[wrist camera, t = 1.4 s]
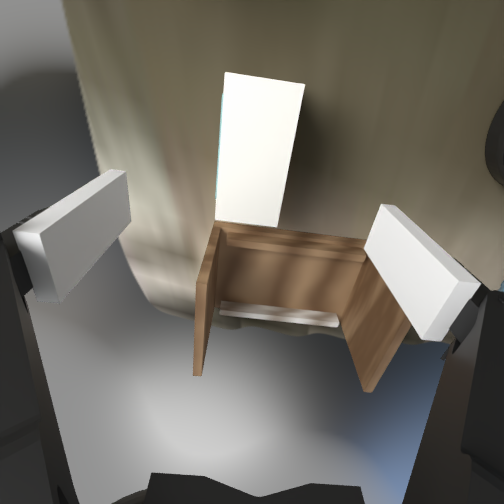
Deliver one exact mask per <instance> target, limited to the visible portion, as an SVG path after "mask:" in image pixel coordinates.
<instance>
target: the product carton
mask: <svg viewBox="0 0 504 504" xmlns="http://www.w3.org/2000/svg"><path fill="white" fill-rule="evenodd" d="M304 87H305V84H299V83H293V82H286V81H280V80H273V79H267V78H260V77H254V76H247V75H241V74H234V73H228V72H225V80H224V93H223V94H222V105H221V121H220V136H219V151H218V166H217V181H216V196H215V199H216V212H215V220H222V221H230V222H238V223H246V224H254V225H262V226H270V227H277V225H278V219H279V214H280V209H281V204H282V199H283V194H284V189H285V184H286V179H287V174H288V168H289V163H290V158H291V153H292V148H293V143H294V138H295V133H296V128H297V123H298V118H299V112H300V107H301V102H302V97H303V92H304Z"/></svg>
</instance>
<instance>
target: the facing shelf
mask: <svg viewBox="0 0 504 504" xmlns="http://www.w3.org/2000/svg"><path fill="white" fill-rule="evenodd" d="M366 241H367V240H362V239H354V238H345V237H337V236H329V235H321V234H313V233H305V232H297V231H289V230H281V229H273V228H265V227H257V226H249V225H241V224H233V223H225V222H217V221H215V222H214V225H213V228H212V232H211V235H210V238H209V242H208V245H207V248H206V252H205V255H204V259H203V262H202V265H201V269H200V272H199V275H198V279H197V282H196V303H195V333H194V363H193V376H202V370H203V365H204V359H205V354H206V349H207V344H208V338H209V333H210V327H211V322H212V317H213V312H214V307H216V308H220V315H226V316H236V317H245V318H254V319H264V320H273V321H283V322H292V323H301V324H311V325H320V326H329V327H338V325H339V321H340V323H341V326H342V329H343V332H344V335H345V338H346V340H347V344H348V347H349V350H350V352H351V355H352V358H353V361H354V364H355V367H356V370H357V373H358V376H359V379H360V382H361V385H362V388H363V390H364V392H372V391H373V389H374V388H375V386H376V384H377V383H378V381H379V379H380V377H381V376H382V374H383V372H384V370H385V369H386V367H387V366H388V364H389V362H390V361H391V359H392V357H393V355H394V354H395V352H396V350H397V349H398V347H399V346H400V344H401V342H402V340H403V339H404V337H405V335H406V334H407V332H408V330H409V329H410V327H411V325H412V324H411V322H410V320H409V319H408V317H407V316H406V314H405V313H404V311H403V310H402V308H401V306H400V305H399V303H398V302H397V300H396V299H395V297H394V295H393V294H392V292H391V291H390V289H389V288H388V286H387V284H386V283H385V281H384V280H383V278H382V277H381V275H380V273H379V272H378V270H377V269H376V267H375V266H374V264H373V262H372V261H371V259H370V258H369V256H368V255H367V253H366V251H365V250H364V247H365V244H366Z"/></svg>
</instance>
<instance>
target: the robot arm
mask: <svg viewBox="0 0 504 504" xmlns="http://www.w3.org/2000/svg"><path fill="white" fill-rule="evenodd" d="M485 157H486V163H487V166H488V169H489V171H490V173H491V175H492V176H493V177H494V178H495V179H496V180H497V181H498V182H499V183H500V184H502V185H504V101H503V103H502V104H501V106H500V107H499V109H498V111H497V113H496V115H495V117H494V119H493V121H492V123H491V126H490V128H489V131H488V135H487V139H486V146H485ZM130 222H131V214H130V204H129V195H128V185H127V176H126V171H120V170H112V169H110V170H108V171H107V172H105V173H104V174H102V175H100V176H99V177H98V178H96V179H94V180H93V181H91V182H90V183H88V184H86V185H84V186H83V187H81V188H80V189H78V190H77V191H75V192H73V193H72V194H70V195H69V196H67V197H65V198H64V199H62V200H61V201H59V202H57V203H56V204H54V205H53V206H51V207H47V208H44V209H42V210H38V211H36V212H34V213H33V214H31V215H29V216H28V217H27V218H24V219H23V220H21V221H20V222H19V223H16V224H15V225H13V226H11V227H10V228H8V229H6V230H5V231H3V232H1V233H0V504H79V501H78V498H77V495H76V492H75V489H74V486H73V482H72V479H71V474H70V470H69V466H68V462H67V458H66V454H65V451H64V447H63V443H62V439H61V435H60V431H59V427H58V423H57V419H56V415H55V412H54V408H53V403H52V399H51V395H50V391H49V388H48V383H47V380H46V376H45V372H44V368H43V364H42V360H41V356H40V352H39V348H38V344H37V340H36V336H35V333H34V329H33V324H32V320H31V316H30V313H29V309H28V305H27V302H26V299H25V297H24V295H25V294H26V293H27V292H29V291H30V289H32V288H33V290H34V293H35V296H36V299H37V301H40V302H50V303H61V302H62V301H63V300H64V298H65V297H66V296H67V295H68V293H70V291H71V290H72V289H73V288H74V287H75V286H76V284H77V283H78V282H79V281H80V280H81V279H82V278H83V276H84V275H85V274H86V273H87V272H88V271H89V270H90V268H91V267H92V266H93V265H94V264H95V263H96V261H97V260H98V259H99V258H100V257H101V256H102V254H103V253H104V252H105V251H106V250H107V249H108V248H109V246H110V245H111V244H112V243H113V242H114V241H115V240H116V238H117V237H118V236H119V235H120V234H121V233H122V231H123V230H124V229H125V228H126V227H127V226H128V225H129V223H130ZM364 250H365V251H366V253H367V255H368V256H369V258H370V259H371V261H372V262H373V264H374V266H375V267H376V269H377V270H378V272H379V273H380V275H381V277H382V278H383V280H384V281H385V283H386V284H387V286H388V288H389V289H390V291H391V292H392V294H393V295H394V297H395V299H396V300H397V302H398V303H399V305H400V306H401V308H402V310H403V311H404V313H405V314H406V316H407V317H408V319H409V320H410V322H411V324H412V325H413V327H414V328H415V330H416V331H417V333H418V335H419V336H420V338H421V339H422V340H432V341H442V339H443V338H444V336H445V335H446V334H447V332H448V331H449V329H450V331H451V332H452V333H453V334H454V336H455V337H456V338H455V339H454V341H453V342H452V343H451V345H450V346H449V347H448V349H447V350H446V352H445V353H444V354H443V356H442V357H441V359H442V360H444V359H446V361H445V364H444V368H443V371H442V374H441V378H440V381H439V384H438V387H437V390H436V394H435V397H434V401H433V404H432V407H431V410H430V414H429V417H428V420H427V423H426V427H425V430H424V433H423V437H422V440H421V443H420V447H419V450H418V453H417V456H416V460H415V463H414V466H413V470H412V473H411V476H410V480H409V483H408V486H407V490H406V493H405V496H404V500H403V502H402V504H504V281H503V282H502V284H501V287H500V288H499V289H498V291H496V290H494V291H491V290H489V289H488V288H487V287H486V286H485V285H484V284H483V283H482V282H481V281H479V280H478V279H477V278H476V277H475V276H474V275H473V274H471V272H470V271H468V270H467V269H466V268H464V266H463V265H462V264H461V263H460V262H458V261H457V260H456V259H455V258H453V257H451V256H450V255H449V254H448V253H447V252H446V251H445V250H444V249H442V248H441V247H440V246H439V245H438V244H437V243H436V242H435V241H434V240H433V239H431V238H430V237H429V236H428V235H427V234H426V233H425V232H424V231H423V230H422V229H420V228H419V227H418V226H417V225H416V224H415V223H414V222H413V221H412V220H411V219H409V218H408V217H407V216H406V215H405V214H404V213H403V212H402V211H401V210H400V209H398V208H397V207H396V206H395V205H387V204H381V206H380V208H379V211H378V213H377V216H376V218H375V221H374V223H373V226H372V229H371V231H370V234H369V236H368V239H367V241H366V244H365V247H364ZM112 504H365V503H364V499H363V495H362V492H361V487H359V486H344V485H329V484H314V483H310V484H306V485H303V486H300V487H296V488H292V489H289V490H285V491H281V492H278V493H274V494H271V495H267V496H263V497H255V496H252V495H250V494H247V493H245V492H242V491H240V490H237V489H235V488H232V487H230V486H227V485H225V484H223V483H220V482H218V481H215V480H212V479H210V478H208V477H205V476H195V475H180V474H165V473H164V474H163V473H151V476H150V480H149V484H148V488H147V489H145V490H142V491H138V492H136V493H133V494H131V495H128V496H126V497H123V498H122V499H120V500H118V501H116V502H114V503H112Z"/></svg>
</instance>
